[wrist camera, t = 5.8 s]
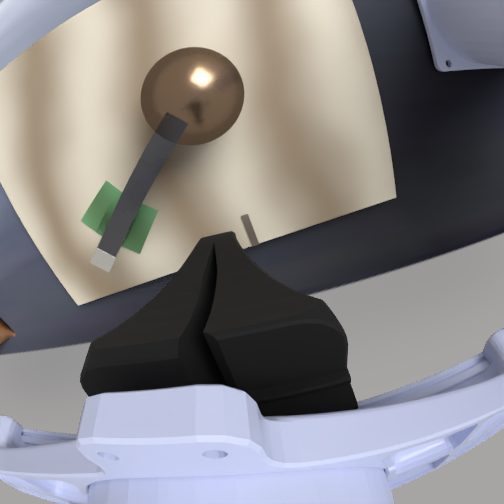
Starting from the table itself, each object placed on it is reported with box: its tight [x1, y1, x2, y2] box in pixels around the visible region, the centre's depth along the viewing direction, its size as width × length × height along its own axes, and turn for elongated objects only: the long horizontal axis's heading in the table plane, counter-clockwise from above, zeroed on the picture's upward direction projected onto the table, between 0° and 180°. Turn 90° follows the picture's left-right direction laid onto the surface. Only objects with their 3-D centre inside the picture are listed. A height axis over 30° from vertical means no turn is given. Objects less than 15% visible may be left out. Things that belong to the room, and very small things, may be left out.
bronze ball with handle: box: [90, 47, 244, 272], centre depth 13 cm, size 11×4×3 cm, turn 145°
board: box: [0, 0, 396, 306], centre depth 15 cm, size 22×16×1 cm
